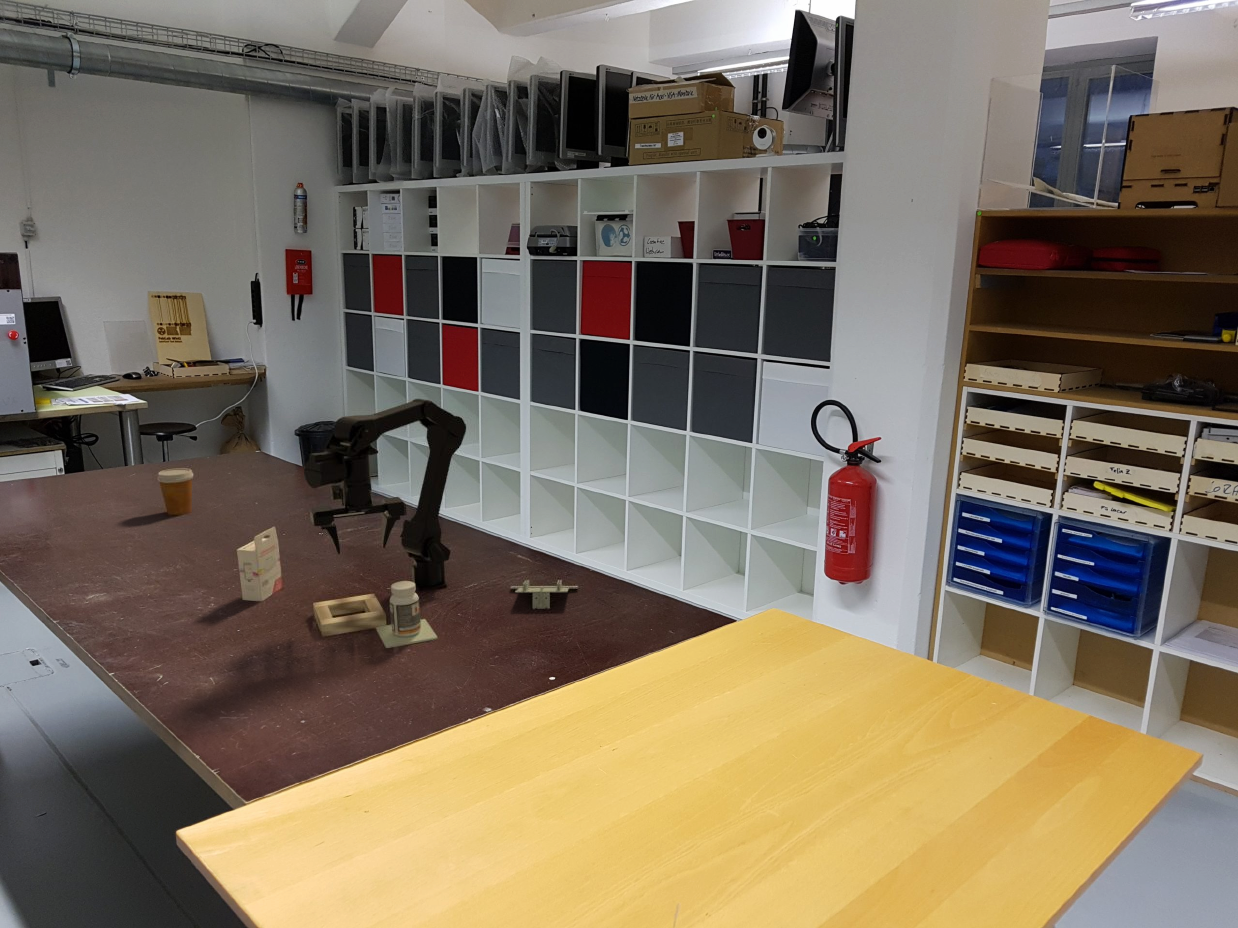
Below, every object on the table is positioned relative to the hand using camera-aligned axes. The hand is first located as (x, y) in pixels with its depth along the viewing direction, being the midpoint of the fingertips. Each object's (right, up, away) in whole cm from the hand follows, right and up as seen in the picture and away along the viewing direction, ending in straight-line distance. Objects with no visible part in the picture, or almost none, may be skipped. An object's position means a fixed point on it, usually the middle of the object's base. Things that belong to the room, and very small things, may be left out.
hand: (361, 550), depth 194 cm
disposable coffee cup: (-73, +4, +73) cm, 103 cm away
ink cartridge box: (-25, -11, +11) cm, 29 cm away
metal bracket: (+37, -12, +10) cm, 40 cm away
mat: (+12, -16, -10) cm, 22 cm away
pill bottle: (+12, -15, -10) cm, 22 cm away
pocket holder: (-2, -14, -3) cm, 14 cm away
